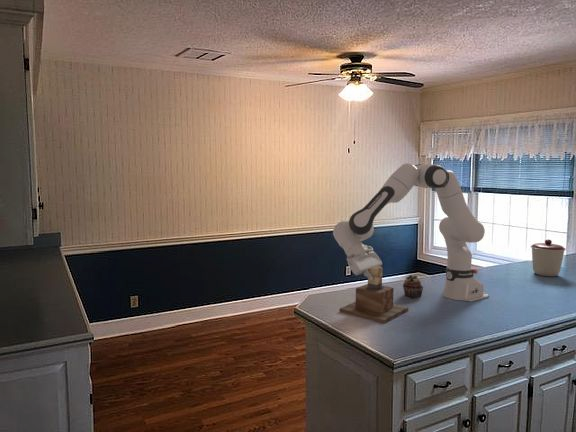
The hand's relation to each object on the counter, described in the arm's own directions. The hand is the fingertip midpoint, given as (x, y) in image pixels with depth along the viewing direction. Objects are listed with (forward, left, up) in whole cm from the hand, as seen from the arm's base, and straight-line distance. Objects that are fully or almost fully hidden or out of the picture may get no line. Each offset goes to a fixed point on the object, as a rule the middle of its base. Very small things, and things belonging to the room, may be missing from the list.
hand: (376, 278), depth 202 cm
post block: (0, -1, -15) cm, 15 cm away
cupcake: (-31, -14, -15) cm, 37 cm away
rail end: (0, -1, -6) cm, 6 cm away
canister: (-133, -21, -15) cm, 135 cm away
